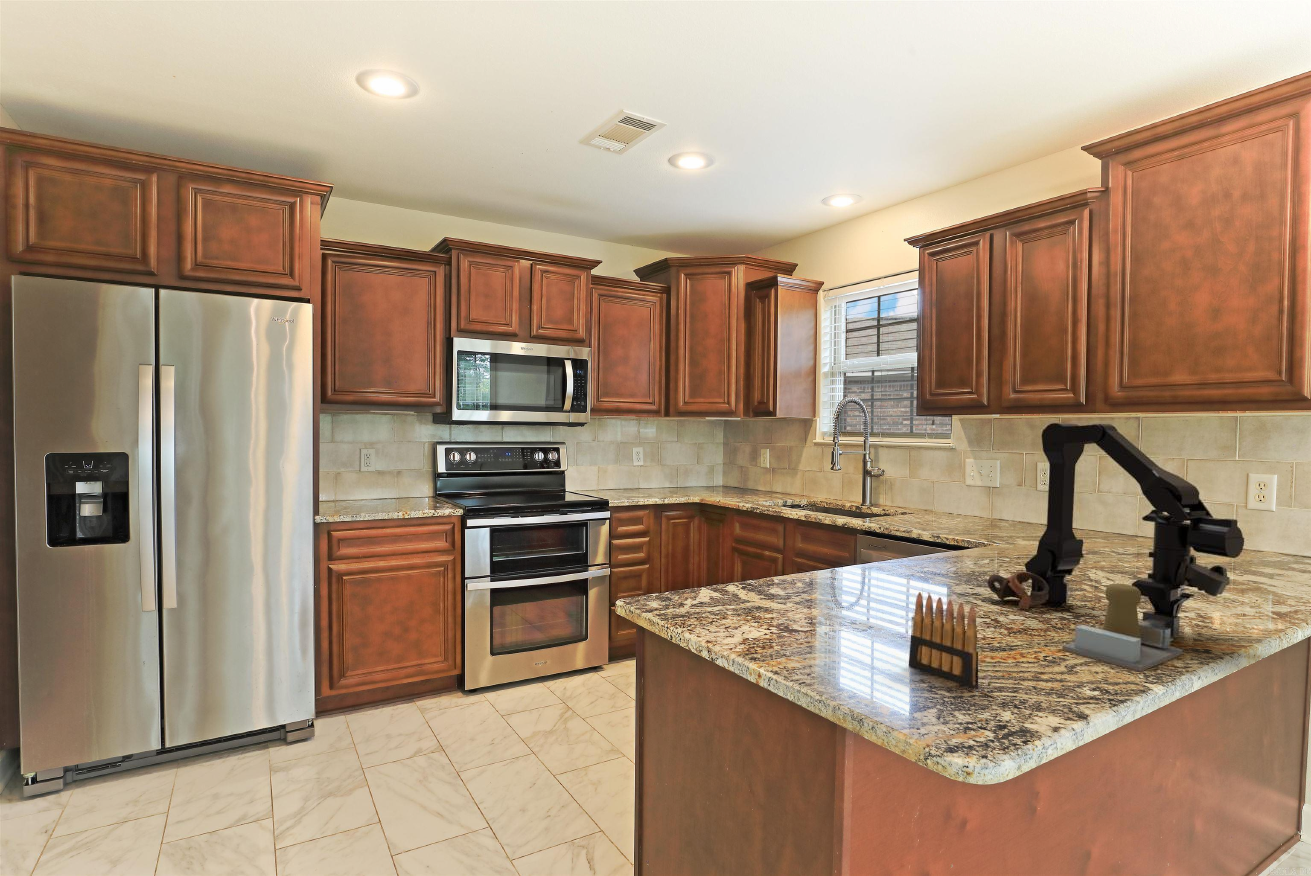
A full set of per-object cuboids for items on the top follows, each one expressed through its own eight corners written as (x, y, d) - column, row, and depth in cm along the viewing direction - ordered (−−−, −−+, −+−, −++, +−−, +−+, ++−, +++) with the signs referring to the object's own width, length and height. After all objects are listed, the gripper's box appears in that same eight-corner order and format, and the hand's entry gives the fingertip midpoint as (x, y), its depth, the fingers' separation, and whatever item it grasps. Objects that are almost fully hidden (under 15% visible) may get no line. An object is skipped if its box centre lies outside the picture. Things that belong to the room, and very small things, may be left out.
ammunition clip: (908, 666, 111) (911, 591, 111) (915, 664, 113) (918, 590, 112) (971, 688, 103) (975, 607, 102) (978, 685, 104) (982, 605, 103)
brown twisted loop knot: (1037, 602, 157) (1051, 575, 152) (1039, 631, 149) (1054, 603, 145) (981, 584, 160) (994, 556, 156) (980, 610, 153) (993, 583, 148)
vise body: (1140, 671, 112) (1141, 645, 112) (1062, 650, 122) (1063, 625, 122) (1200, 646, 126) (1201, 622, 126) (1125, 629, 136) (1126, 607, 136)
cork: (1150, 652, 119) (1153, 588, 119) (1119, 653, 118) (1122, 589, 118) (1121, 641, 125) (1124, 580, 125) (1091, 642, 124) (1094, 580, 124)
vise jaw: (1163, 648, 120) (1164, 629, 120) (1106, 634, 128) (1107, 616, 128) (1191, 637, 127) (1192, 619, 127) (1135, 625, 135) (1136, 607, 135)
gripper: (1205, 560, 120) (1200, 650, 120) (1242, 551, 131) (1238, 633, 131) (1132, 549, 129) (1128, 633, 130) (1172, 541, 140) (1168, 619, 140)
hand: (1167, 629), depth 132 cm, fingers closed
